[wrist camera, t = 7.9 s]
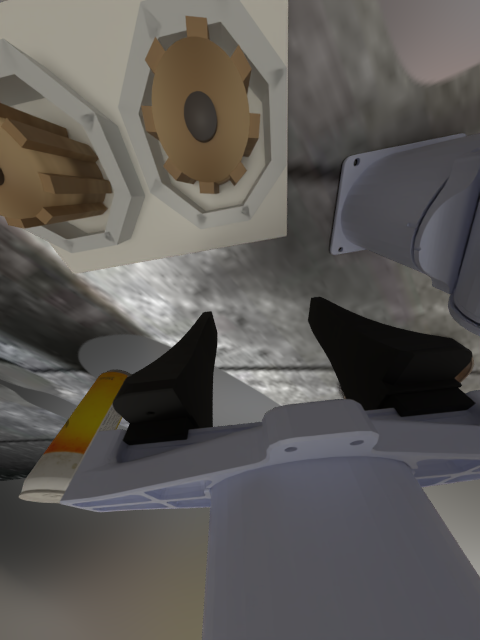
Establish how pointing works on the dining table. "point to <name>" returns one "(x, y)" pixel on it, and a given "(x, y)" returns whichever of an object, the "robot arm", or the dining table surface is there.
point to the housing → (128, 123)
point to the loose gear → (201, 108)
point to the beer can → (75, 440)
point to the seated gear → (46, 173)
